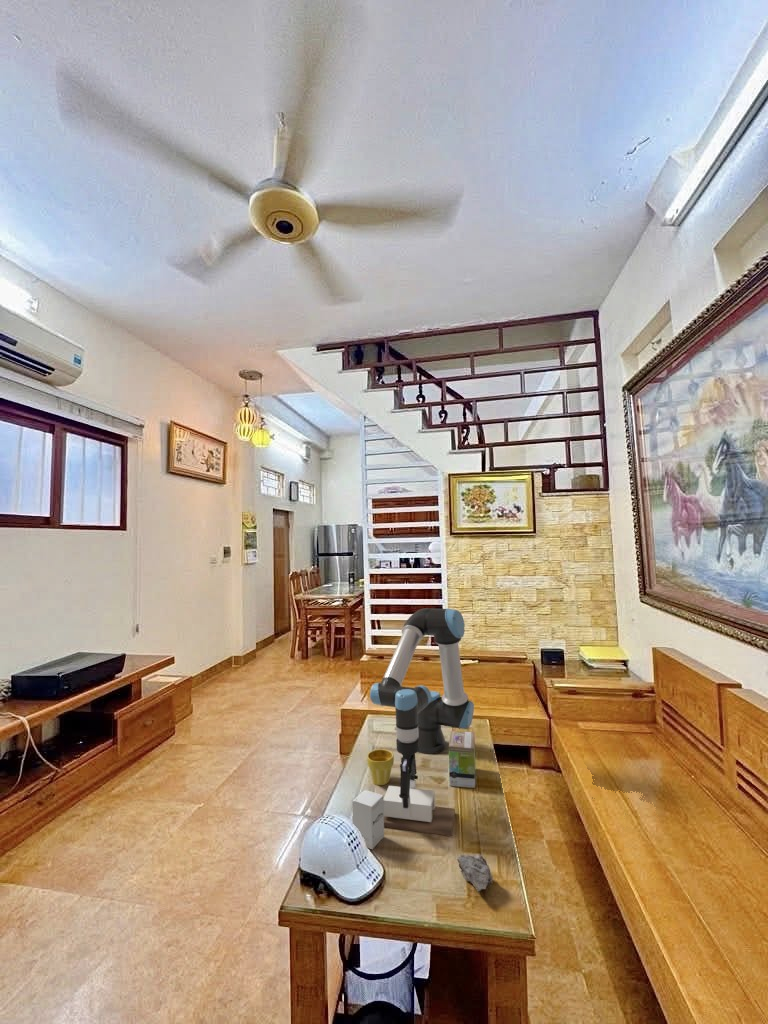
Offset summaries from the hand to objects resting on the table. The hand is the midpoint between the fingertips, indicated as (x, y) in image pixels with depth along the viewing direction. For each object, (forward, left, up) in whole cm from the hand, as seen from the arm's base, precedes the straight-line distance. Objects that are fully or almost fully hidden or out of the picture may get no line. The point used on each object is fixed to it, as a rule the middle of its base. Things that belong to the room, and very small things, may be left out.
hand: (409, 807), depth 147 cm
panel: (0, 0, -1) cm, 1 cm away
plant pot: (-21, -16, -4) cm, 26 cm away
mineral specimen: (+25, +23, -4) cm, 34 cm away
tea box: (-30, +15, -4) cm, 34 cm away
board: (0, +2, -3) cm, 4 cm away
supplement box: (+13, -11, -4) cm, 17 cm away
